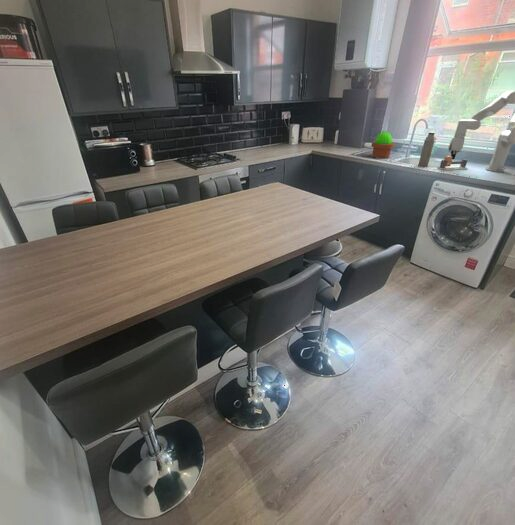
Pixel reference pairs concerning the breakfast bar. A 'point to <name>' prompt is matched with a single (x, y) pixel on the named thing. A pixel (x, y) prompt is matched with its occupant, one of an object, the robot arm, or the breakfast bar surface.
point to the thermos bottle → (427, 150)
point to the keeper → (448, 160)
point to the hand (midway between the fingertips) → (452, 158)
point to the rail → (461, 167)
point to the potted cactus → (382, 145)
